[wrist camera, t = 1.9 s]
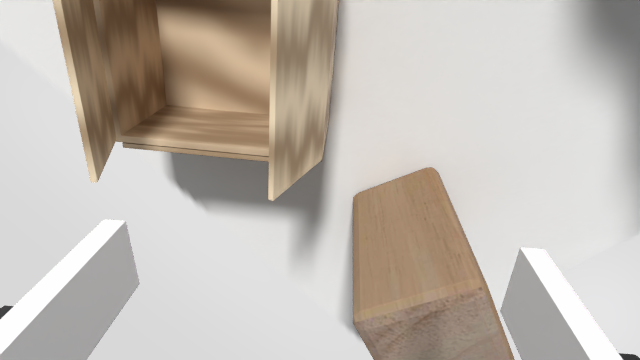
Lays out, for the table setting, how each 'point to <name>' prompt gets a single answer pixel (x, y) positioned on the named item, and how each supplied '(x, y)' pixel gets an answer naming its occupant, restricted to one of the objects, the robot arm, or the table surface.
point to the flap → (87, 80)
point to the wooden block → (419, 277)
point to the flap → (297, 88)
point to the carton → (192, 74)
